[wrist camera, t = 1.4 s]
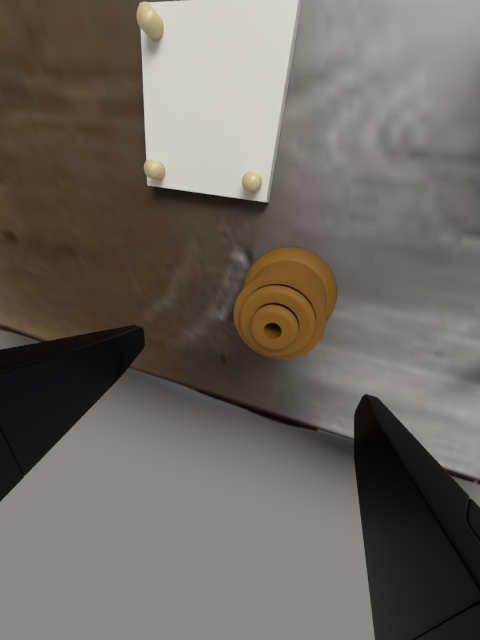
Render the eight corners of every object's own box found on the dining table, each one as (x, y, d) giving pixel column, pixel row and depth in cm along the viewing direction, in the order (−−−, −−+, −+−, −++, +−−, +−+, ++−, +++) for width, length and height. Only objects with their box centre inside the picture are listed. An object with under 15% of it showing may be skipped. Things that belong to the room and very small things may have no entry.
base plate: (300, 9, 13) (297, -22, 12) (268, 202, 18) (263, 201, 16) (149, 14, 16) (128, -11, 14) (154, 186, 20) (139, 184, 18)
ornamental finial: (231, 288, 22) (291, 224, 18) (287, 344, 22) (356, 292, 19) (189, 323, 15) (272, 231, 11) (272, 403, 15) (377, 339, 12)
